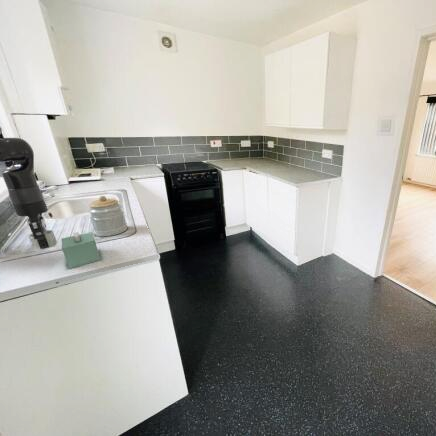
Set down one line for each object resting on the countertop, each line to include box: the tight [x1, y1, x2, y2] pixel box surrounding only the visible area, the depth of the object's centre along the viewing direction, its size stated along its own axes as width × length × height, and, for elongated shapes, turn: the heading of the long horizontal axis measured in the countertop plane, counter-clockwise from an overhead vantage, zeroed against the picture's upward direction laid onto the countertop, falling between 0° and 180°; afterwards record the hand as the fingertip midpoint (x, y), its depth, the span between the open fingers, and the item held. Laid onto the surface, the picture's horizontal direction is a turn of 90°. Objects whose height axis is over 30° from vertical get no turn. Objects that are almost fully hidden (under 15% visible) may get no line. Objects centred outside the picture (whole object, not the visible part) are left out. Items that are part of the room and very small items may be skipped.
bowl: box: [28, 229, 58, 251], centre depth 87 cm, size 6×6×5 cm
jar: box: [87, 195, 128, 237], centre depth 114 cm, size 13×13×18 cm
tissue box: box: [61, 231, 102, 269], centre depth 91 cm, size 9×11×10 cm
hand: (45, 244), depth 88 cm, fingers closed on bowl, 6 cm apart
